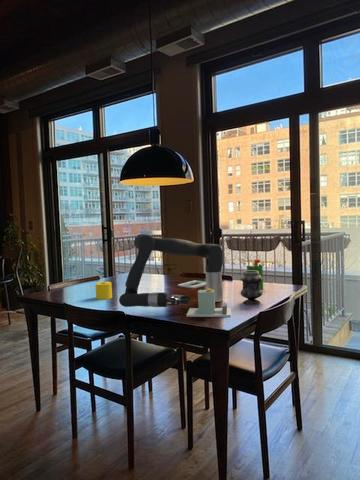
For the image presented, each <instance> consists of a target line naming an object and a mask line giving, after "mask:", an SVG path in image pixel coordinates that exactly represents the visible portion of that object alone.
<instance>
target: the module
mask: <svg viewBox="0 0 360 480" xmlns="http://www.w3.org/2000/svg"><path fill="white" fill-rule="evenodd" d="M197 301H198V302H197V305H198V307H197V308H198V310H199V314H215V308H216V302H215V290H212V289H207V290H205V289H199V290H198V291H197Z"/></svg>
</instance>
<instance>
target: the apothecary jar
mask: <svg viewBox="0 0 360 480" xmlns="http://www.w3.org/2000/svg"><path fill="white" fill-rule="evenodd" d="M261 280H262V277H261V276H260V275H259V271H255V270H247V269H246V270H243V274H241V276H240V281H241V282H242V289H241V290H240V293H239V294H240V295H241V297H243V298H244V299H245V300H243V302H242V304H244V305H249V306H252V305H253V306H256V305H260V304H261V303H262V301H260V300H259V299H258V298H261V297H262V295H263V290H260V281H261Z"/></svg>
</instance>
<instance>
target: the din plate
mask: <svg viewBox="0 0 360 480" xmlns="http://www.w3.org/2000/svg"><path fill="white" fill-rule="evenodd" d="M231 316H232V308H231V307H228V303H227V302H223V303H222V306H221V307H215V314H199V310H198V307H197V308H196V307H189V308H188V311H187V313H186V318H190V317H191V318H193V317H194V318H197V317H198V318H200V317H203V318H205V317H208V318H209V317H211V318H213V317H214V318H217V317H219V318H221V317H222V318H226V317H227V318H230V317H231Z"/></svg>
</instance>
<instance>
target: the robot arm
mask: <svg viewBox="0 0 360 480" xmlns="http://www.w3.org/2000/svg"><path fill="white" fill-rule="evenodd" d="M133 244H134V246H135V248H136V249H137V250H138V251H137V255H136V258H135V260H134V262H133V264H132V266H131V267H130V269H129V272H128V275H127V277H126V281H125V292H124V293H122V294H121V295H120V296H119V298H118V301H119V302H118V303H119V304H120V305H121V306H122V307H125V308H129V307H130V308H131V307H143V308H144V307H147V308H149V307H150V308H168V306H180V305H188V304H189V303H190V300H191V295H184V294H172V293H171V295H168V293H167V292H142V293H138V289H139V286H140V282H141V280H142V277H143V273H144V270H145V268H146V265H147V263H148V260H149V258H150V256H151V254H152V252H153V251H154V252H160V253H163V254H168V255H173V256H178V257H200V258H204V259H207V260H208V263H207V265H206V266H205V281H206V284H205V286H204V290H207V289H212V290H215V303H218V302H222V301H223V281H222V280H223V279H222V269H223V266H224V265H223V261H224V260H223V258H224V255H223V254H224V253H223V252H224V251H223V248H222V247H221V245H219V244H214V243H197V242H193V241H190V240H187V239H183V238H182V239H181V238H172V237H171V238H170V237H169V238H168V237H167V238H166V237H155V236H152V235H151V234H149V233H147V234H146V233H141V234H139V235H137V236H136V237H135V238H134V242H133Z"/></svg>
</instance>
